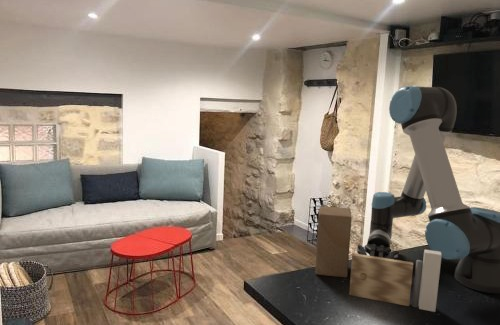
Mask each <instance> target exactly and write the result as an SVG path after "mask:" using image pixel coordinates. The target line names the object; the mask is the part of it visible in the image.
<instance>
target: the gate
mask: <svg viewBox="0 0 500 325" xmlns="http://www.w3.org/2000/svg"><path fill="white" fill-rule="evenodd" d="M350 264H351V265H350V276H349V277H350V280H349V293H348V295H349V296H353V297H358V298H364V299H369V300H374V301H381V302H384V303H388V304H389V303H391V304H396V305H400V306H406V307H410V300H411V299H410V298H411V293H412V292H411V290H412V280H413V269H414V262H412V261H404V260H400V259H396V260H394V259H387V258H386V257H384V258H381V257H374V256H370V255H369V254H367V255H361V254H358V253H354V252H352V254H351V263H350Z"/></svg>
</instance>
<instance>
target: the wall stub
mask: <svg viewBox="0 0 500 325" xmlns="http://www.w3.org/2000/svg"><path fill="white" fill-rule="evenodd" d="M441 256H442V255H441V252H439V251H432V250H431V249H424V251H423V259H422V260H421V259H416V261H415V270H414V280H413V281H414V282H413V289H412V290H413V291H412V300H411V306H412V307H413V308H418V309H419V310H423V311H429V312H433V313H435V312H436V308H437V301H438V292H439V291H438V290H439V282H440V281H439V280H440V274H441V264H442V257H441Z"/></svg>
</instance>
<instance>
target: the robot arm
mask: <svg viewBox="0 0 500 325" xmlns="http://www.w3.org/2000/svg"><path fill="white" fill-rule="evenodd" d="M388 108H389V109H388V111H389V115H390V116H389V117H390V118H391V119H392V121H393V122H395V124H400V126H401V129H402V133H403V134H405V135H407V136H409V138H410V141H411V145H412V148H413V151H414V152H413V153H414V156H413V159H412V163H411V166H410V169H409V171H408V175H407V177H406V179H405V183H404V185H403V186H404V187H403V188H402V189H403V190H402V192H401V195H400V196H395V195H394V194H393V193H391V192H386V191H377V192H375V193H374V194H373V196H372V200H371V213H370V214H371V215H370V216H371V217H370V225H369V226H370V227H369V235H368V238H367V242H366V244H365V245H364V246H363V245H361V244H357V250H356V254H361V255H368V256H374V257H381V258H387V259H394V260H399V251H398V250H392V249H391V242H392V236H393V235H392V234H393V222H394V219H399V218H404V217H415V216H419V215H422V214H424V213H425V211H426V210H427V201H426V198H425V194H427V195H426V196H427V198H428V202H429V204H430V208H431V209H430V212H429V214H428V215H427V217H428V218H427V219H428V221H429V222H428V223H427V225H426V227H425V230H424V238H425V240H426V243H427V245H428V247H429V249H430V250H432V251H439V252H441V255H442V256H441V259H445V260H459V262H458V264H456V267H455V269H454V279H455V280H456V281H457V282H458V283H459V284H461V285H463V286H464V287H466V288H469V289H471V290H475V291H478V292H482V293H486V294H499V295H500V211H498V210H495V209H494V210H493V209H490V208H489V209H488V208H484V207H475V206H468V205H467V204H466V203H464V202H463V200H462V198H461V194H460V191H459V188H458V184H457V182H456V178H455V175H454V172H453V169H452V166H451V163H450V159H449V156H448V154H447V151H446V148H445V147H446V146H445V144H444V143H445V141H446V137H447V135H448V134H450V133H452V132H453V129H454V127H455V123H456V119H457V113H458V112H457V102H456V99H455V97H454V95H453V94H452V93H451V92H450V91H449V90H448V89H445V88H443V87H439V86H419V85H409V86H408V85H407V86H403V87H401V88H399V89H397V90H396V91H395V92H394V94H393V95H392V97H391V100H390V102H389V106H388Z"/></svg>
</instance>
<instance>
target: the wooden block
mask: <svg viewBox="0 0 500 325" xmlns="http://www.w3.org/2000/svg"><path fill="white" fill-rule="evenodd" d="M318 210H319V211H318V215H317V217H318V218H317V235H316V237H317V238H316V253H315V268H314V269H315V271H314V272H315V274H316V275H319V276H327V277H337V278H348V274H349V273H348V272H349V260H350V259H349V258H350V246H351V232H352V220H353V218H352V210H351V208H348V207H339V206H338V207H335V206H324V205H320V206H319V209H318Z"/></svg>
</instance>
